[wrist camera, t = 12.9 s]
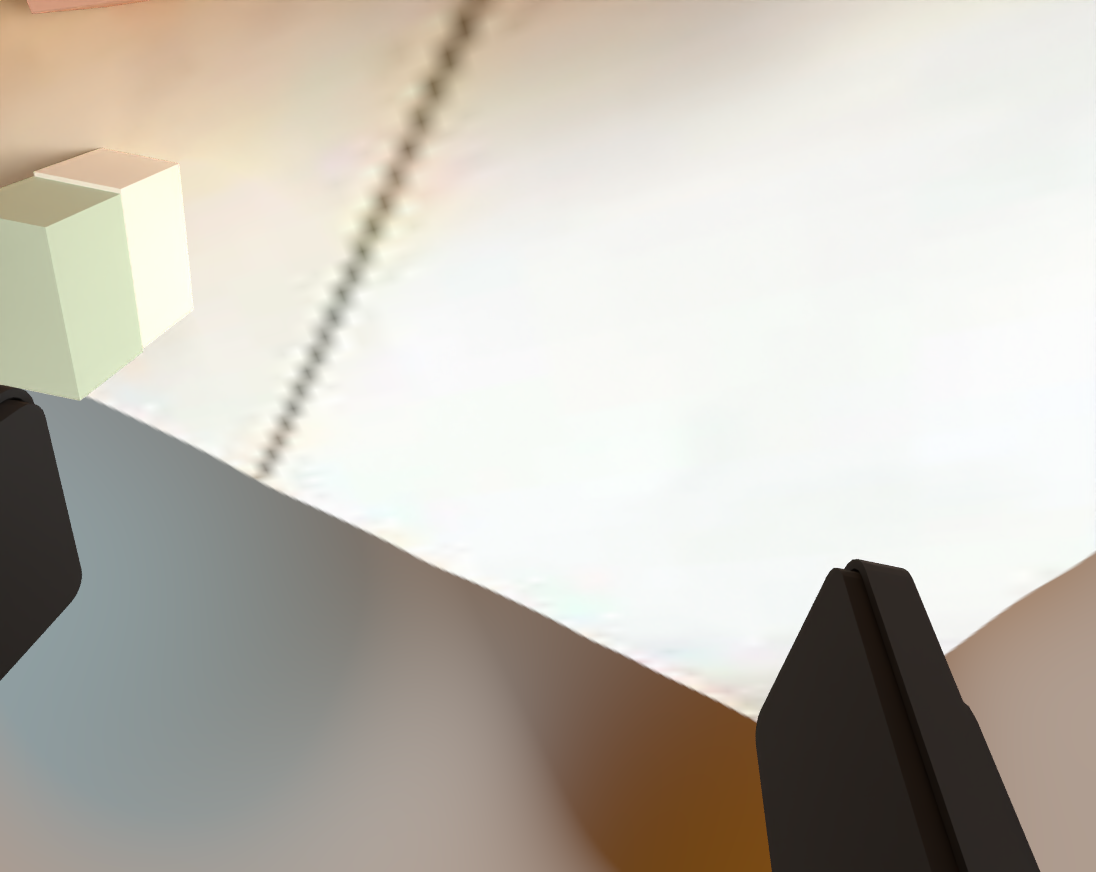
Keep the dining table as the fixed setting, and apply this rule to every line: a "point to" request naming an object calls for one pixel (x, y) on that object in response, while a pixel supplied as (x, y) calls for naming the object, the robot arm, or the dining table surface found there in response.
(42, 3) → the terracotta brick
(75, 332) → the sage brick
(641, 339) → the dining table surface
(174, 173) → the cream brick
